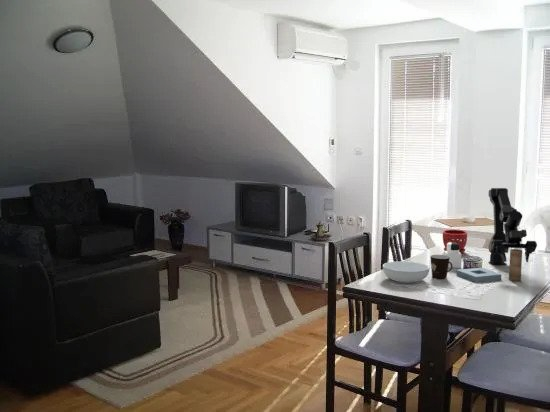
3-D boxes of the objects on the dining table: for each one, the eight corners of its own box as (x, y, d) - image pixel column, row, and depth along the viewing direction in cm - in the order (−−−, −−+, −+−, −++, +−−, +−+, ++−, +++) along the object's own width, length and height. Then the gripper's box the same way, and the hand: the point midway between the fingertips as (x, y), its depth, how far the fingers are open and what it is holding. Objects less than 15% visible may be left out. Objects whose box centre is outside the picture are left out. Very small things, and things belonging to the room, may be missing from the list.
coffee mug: (427, 275, 270) (428, 254, 268) (445, 275, 270) (446, 254, 268) (434, 281, 258) (435, 260, 257) (453, 281, 258) (454, 260, 257)
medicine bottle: (458, 264, 291) (458, 241, 290) (461, 268, 284) (462, 244, 282) (443, 264, 292) (444, 241, 290) (446, 267, 285) (447, 244, 283)
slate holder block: (481, 272, 274) (481, 267, 274) (501, 279, 261) (501, 274, 261) (456, 275, 270) (456, 269, 270) (475, 282, 257) (475, 276, 257)
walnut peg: (511, 278, 263) (513, 248, 262) (522, 280, 260) (524, 250, 258) (507, 280, 260) (508, 250, 258) (518, 282, 256) (519, 251, 255)
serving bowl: (439, 282, 257) (439, 267, 256) (404, 289, 246) (405, 273, 245) (406, 272, 275) (406, 258, 274) (372, 278, 264) (373, 264, 263)
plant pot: (440, 249, 328) (440, 229, 326) (463, 250, 327) (464, 229, 325) (444, 254, 315) (445, 233, 313) (468, 255, 314) (469, 233, 312)
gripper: (494, 222, 262) (498, 251, 252) (537, 223, 259) (543, 252, 250) (489, 236, 271) (493, 264, 261) (531, 237, 268) (536, 265, 258)
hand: (516, 261), depth 257 cm, fingers open, 9 cm apart
